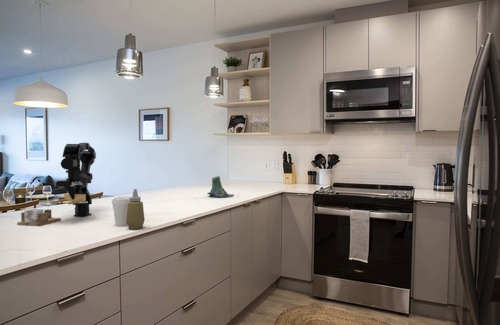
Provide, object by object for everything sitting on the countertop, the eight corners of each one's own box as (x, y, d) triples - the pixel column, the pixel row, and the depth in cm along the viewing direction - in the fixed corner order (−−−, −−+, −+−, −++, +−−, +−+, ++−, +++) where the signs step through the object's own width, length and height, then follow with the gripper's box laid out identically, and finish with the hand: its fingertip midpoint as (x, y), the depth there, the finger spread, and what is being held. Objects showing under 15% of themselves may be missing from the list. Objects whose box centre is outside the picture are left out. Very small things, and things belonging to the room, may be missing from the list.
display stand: (61, 220, 171) (60, 206, 171) (39, 226, 159) (39, 211, 158) (39, 219, 174) (39, 205, 174) (17, 224, 161) (16, 210, 161)
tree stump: (238, 197, 253) (233, 175, 250) (214, 206, 245) (208, 182, 242) (228, 193, 270) (224, 172, 266) (205, 201, 261) (200, 179, 258)
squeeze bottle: (129, 226, 158) (128, 188, 157) (146, 226, 159) (146, 188, 158) (124, 230, 150) (123, 190, 149) (142, 230, 151) (142, 190, 150)
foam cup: (112, 223, 164) (111, 197, 163) (132, 221, 168) (131, 196, 167) (112, 227, 155) (112, 199, 155) (133, 225, 159) (133, 198, 158)
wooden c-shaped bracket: (85, 200, 171) (85, 194, 171) (69, 204, 160) (69, 197, 160) (67, 200, 174) (66, 193, 173) (50, 203, 163) (50, 196, 163)
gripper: (74, 169, 160) (75, 202, 161) (99, 167, 178) (100, 196, 179) (54, 169, 162) (55, 201, 163) (81, 167, 180) (82, 196, 181)
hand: (74, 198), depth 171 cm, fingers closed on wooden c-shaped bracket, 2 cm apart
